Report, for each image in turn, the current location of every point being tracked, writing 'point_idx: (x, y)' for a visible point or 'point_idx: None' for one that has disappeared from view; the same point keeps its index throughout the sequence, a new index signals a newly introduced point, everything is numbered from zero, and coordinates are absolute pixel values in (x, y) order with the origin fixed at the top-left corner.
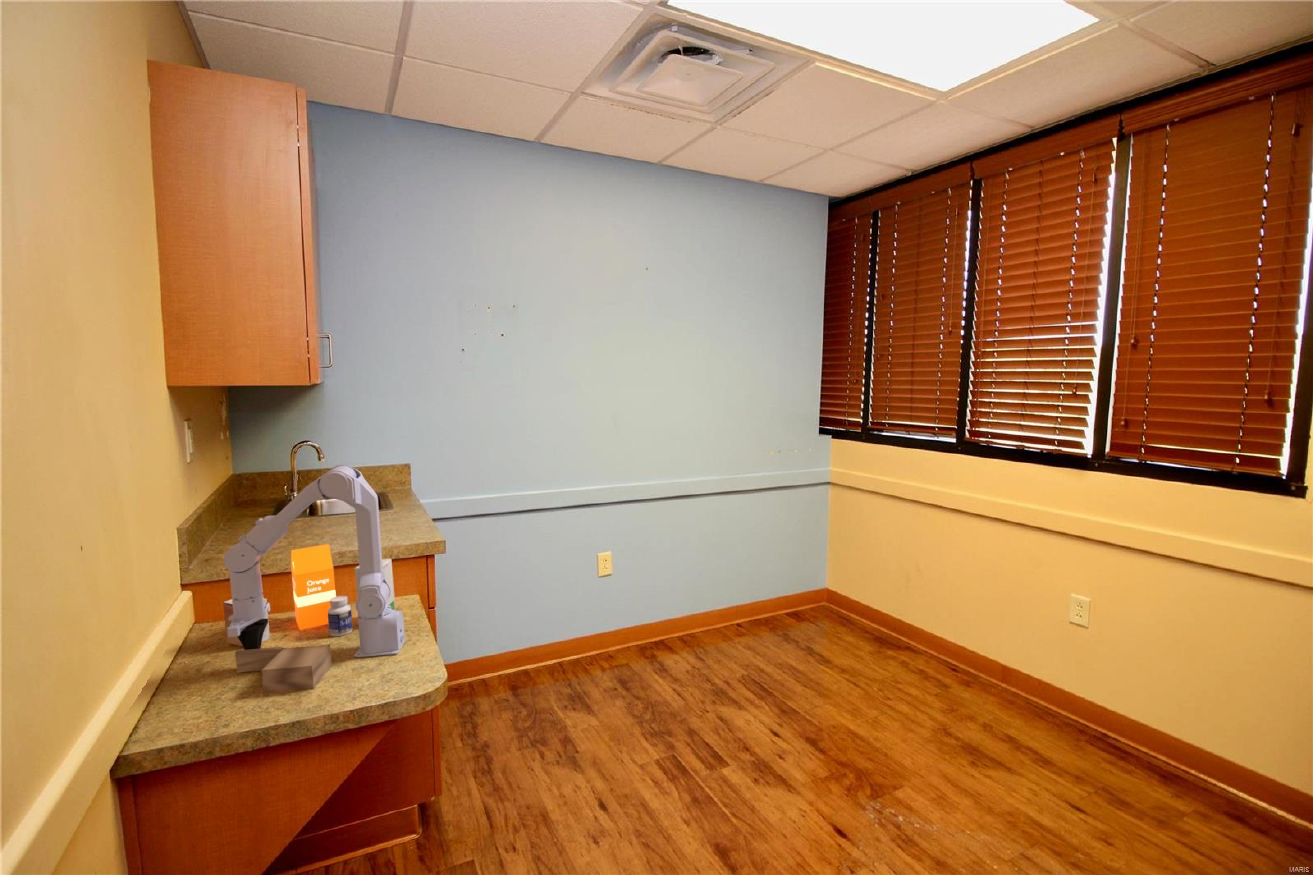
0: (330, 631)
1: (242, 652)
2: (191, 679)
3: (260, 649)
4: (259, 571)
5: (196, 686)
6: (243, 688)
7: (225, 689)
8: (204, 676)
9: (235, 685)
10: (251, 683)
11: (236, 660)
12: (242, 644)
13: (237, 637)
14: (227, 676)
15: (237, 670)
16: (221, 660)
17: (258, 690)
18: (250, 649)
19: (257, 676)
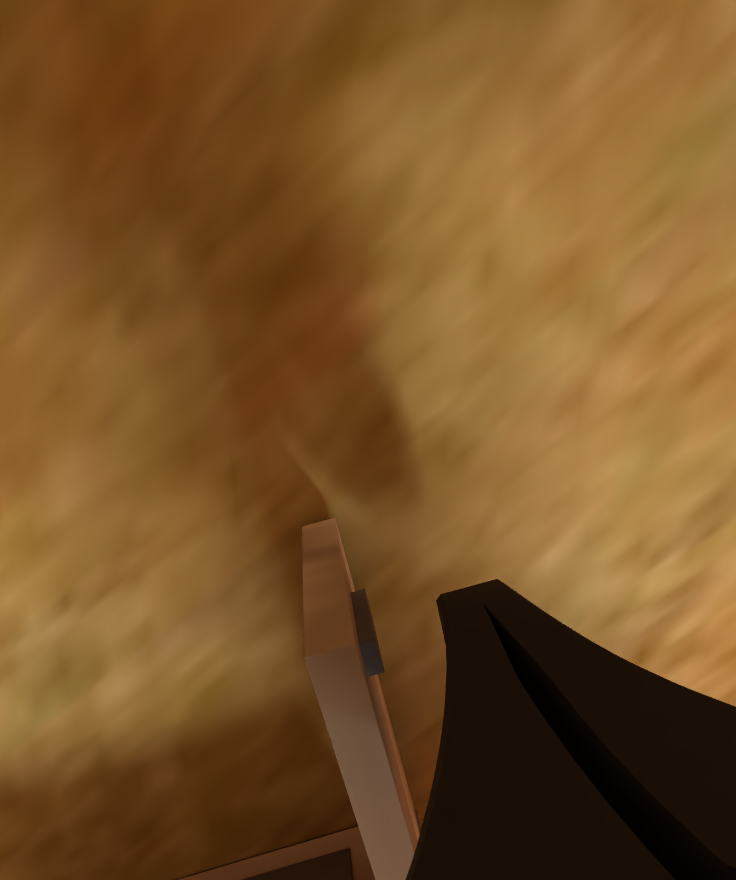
0: None
1: (325, 723)
2: (141, 131)
3: (390, 876)
4: None
5: (18, 325)
6: (77, 748)
7: (31, 633)
8: (222, 233)
9: (108, 658)
10: (160, 746)
11: (303, 596)
12: (447, 696)
13: (430, 806)
14: (247, 472)
15: (304, 538)
16: (576, 129)
17: (72, 859)
18: (388, 779)
19: (272, 707)
